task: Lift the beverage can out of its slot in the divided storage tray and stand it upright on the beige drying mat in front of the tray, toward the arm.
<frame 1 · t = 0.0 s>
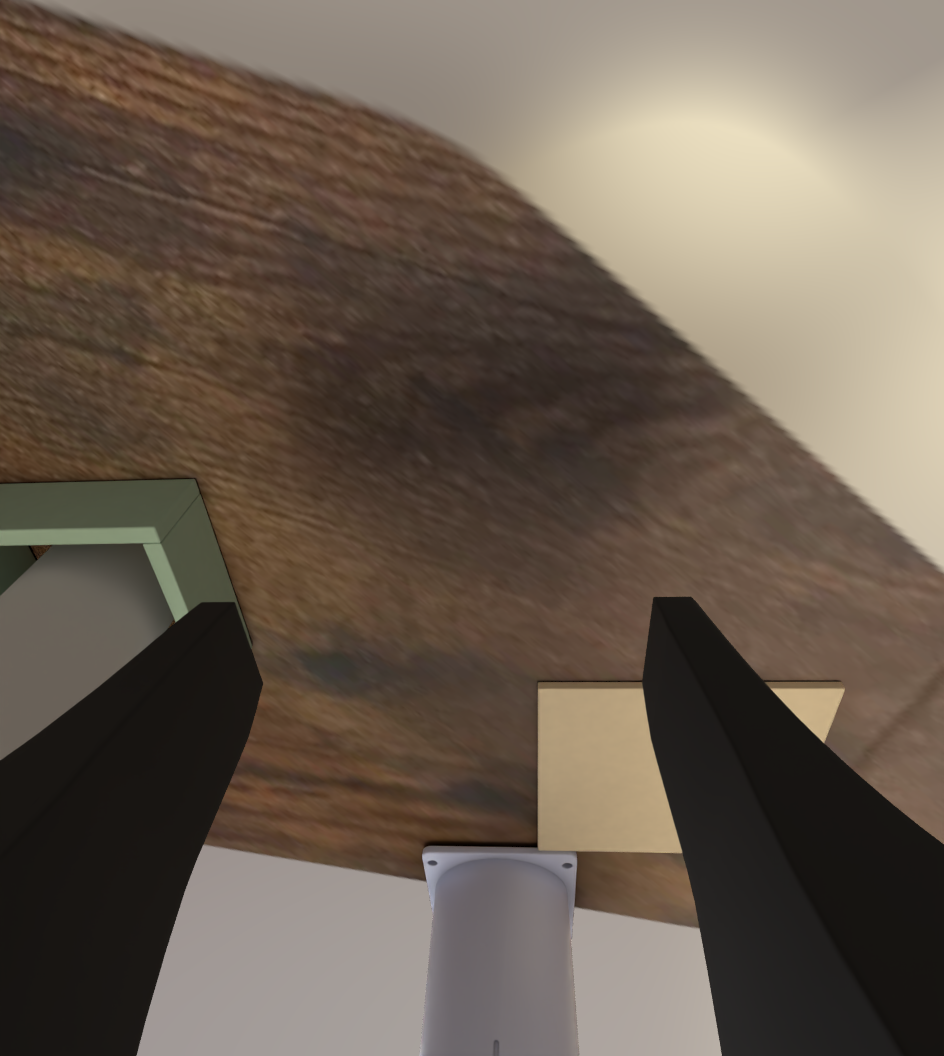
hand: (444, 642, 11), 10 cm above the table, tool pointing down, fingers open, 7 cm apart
drying mat: (669, 772, 29), on the table
divided storage tray: (36, 572, 24), on the table
beverage can: (129, 568, 24), resting in divided storage tray
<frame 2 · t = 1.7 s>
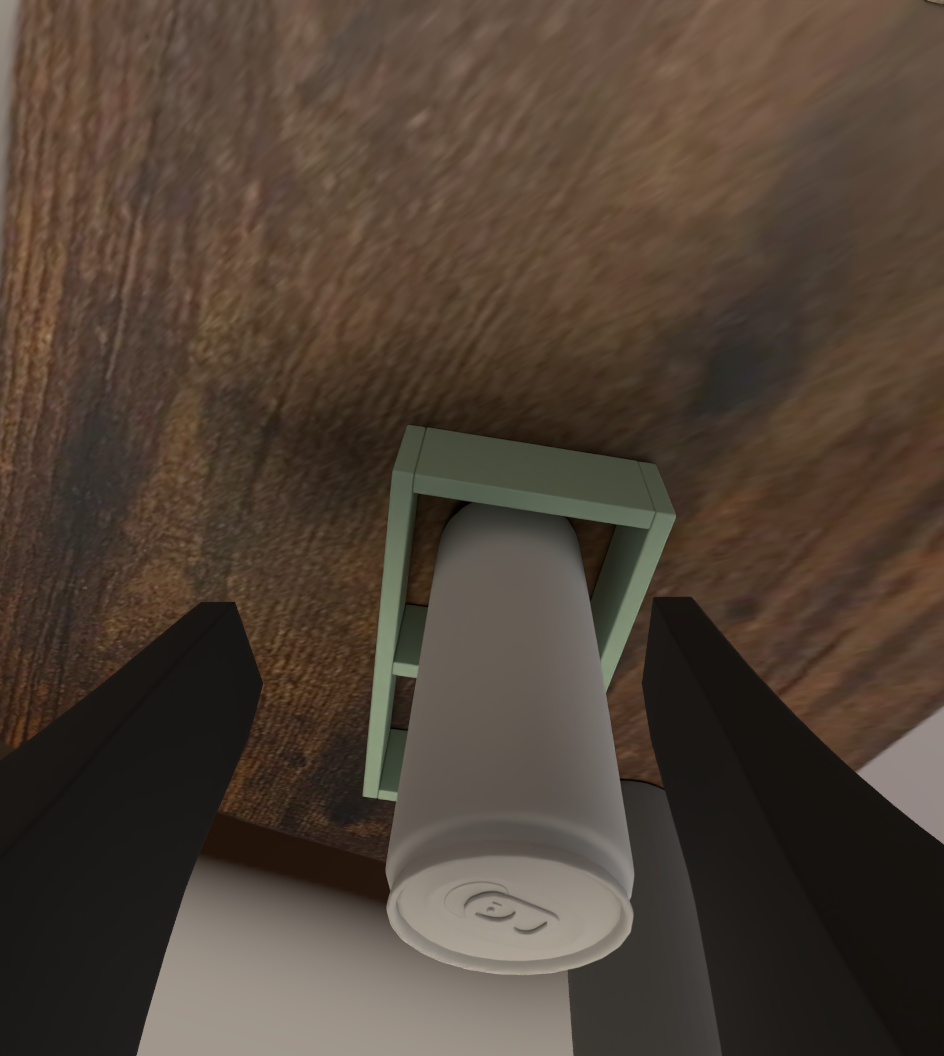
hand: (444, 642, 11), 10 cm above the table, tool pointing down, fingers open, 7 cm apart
divided storage tray: (492, 622, 24), on the table
beverage can: (509, 541, 22), resting in divided storage tray
bottle: (618, 812, 30), on the table
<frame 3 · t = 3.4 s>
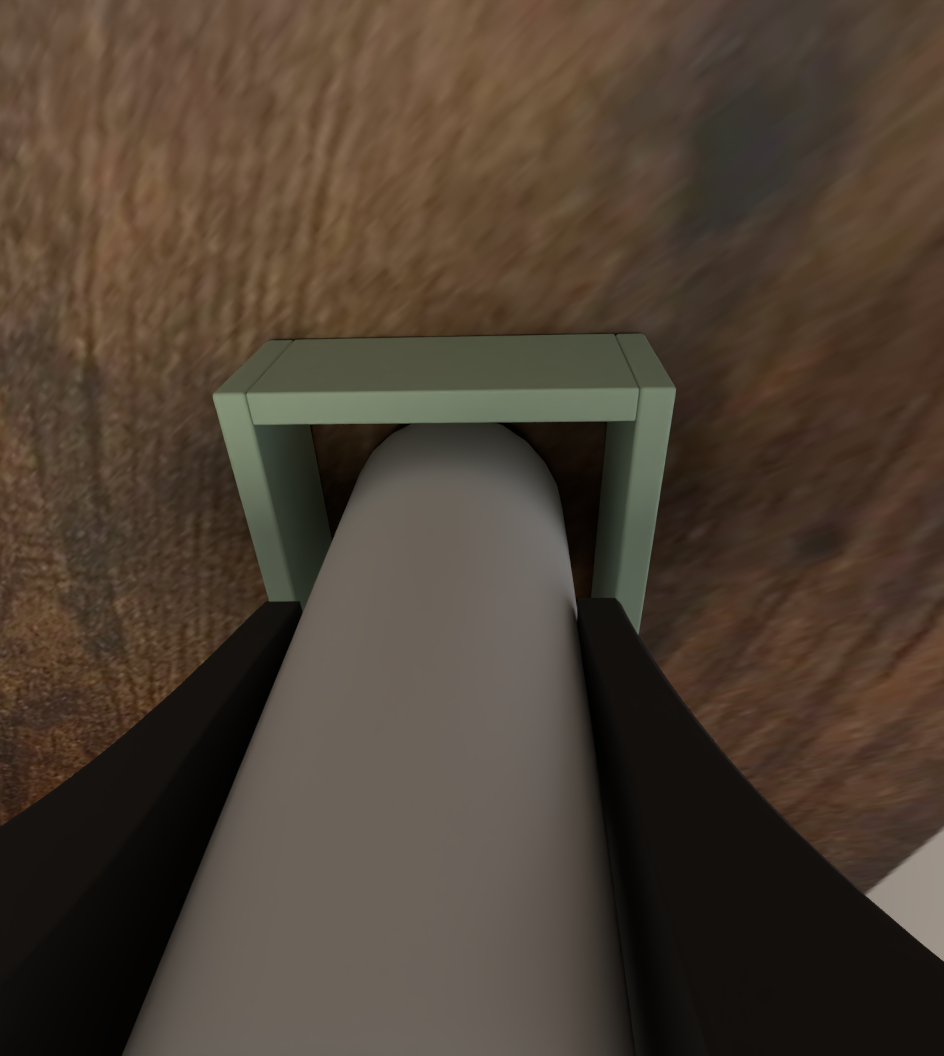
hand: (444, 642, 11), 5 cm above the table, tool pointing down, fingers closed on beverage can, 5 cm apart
divided storage tray: (466, 612, 17), on the table
beverage can: (460, 493, 15), resting in divided storage tray, touching gripper
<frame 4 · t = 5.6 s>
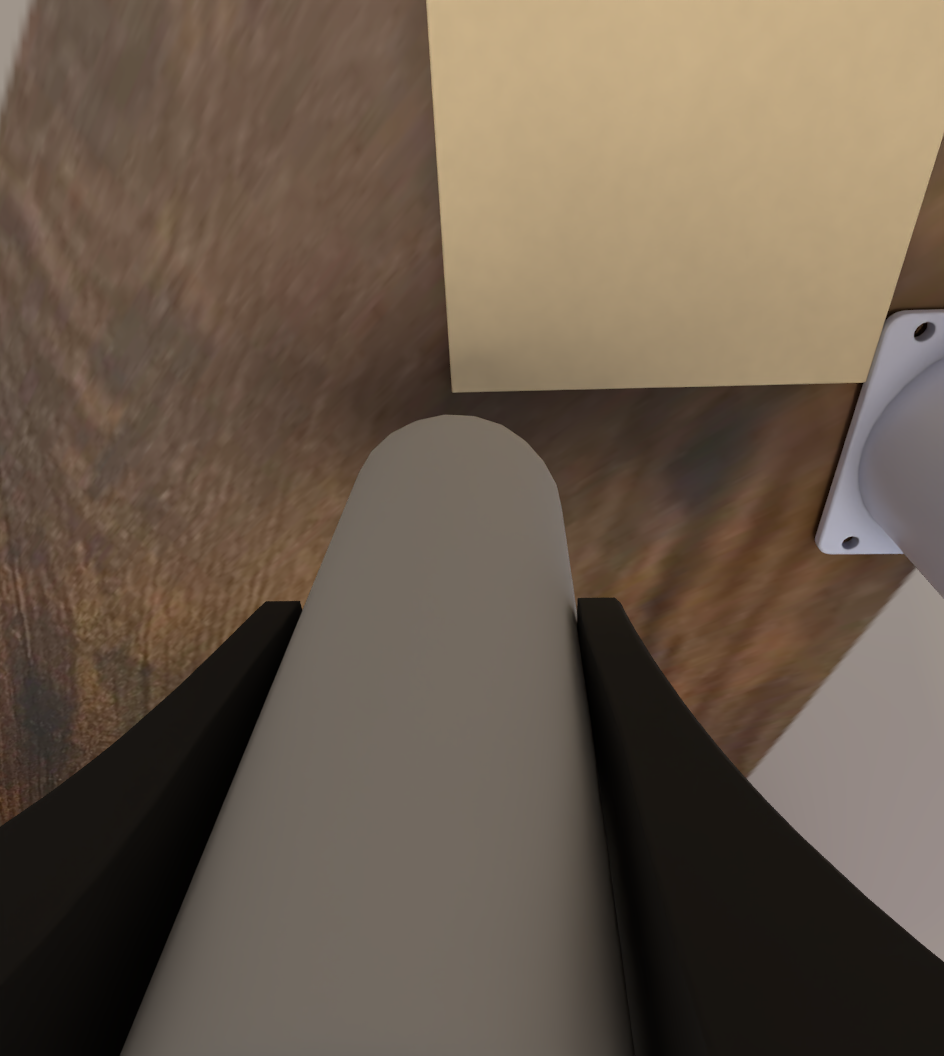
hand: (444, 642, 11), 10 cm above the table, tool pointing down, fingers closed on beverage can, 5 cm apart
drying mat: (679, 150, 16), on the table
beverage can: (460, 493, 15), point 5 cm above the table, touching gripper
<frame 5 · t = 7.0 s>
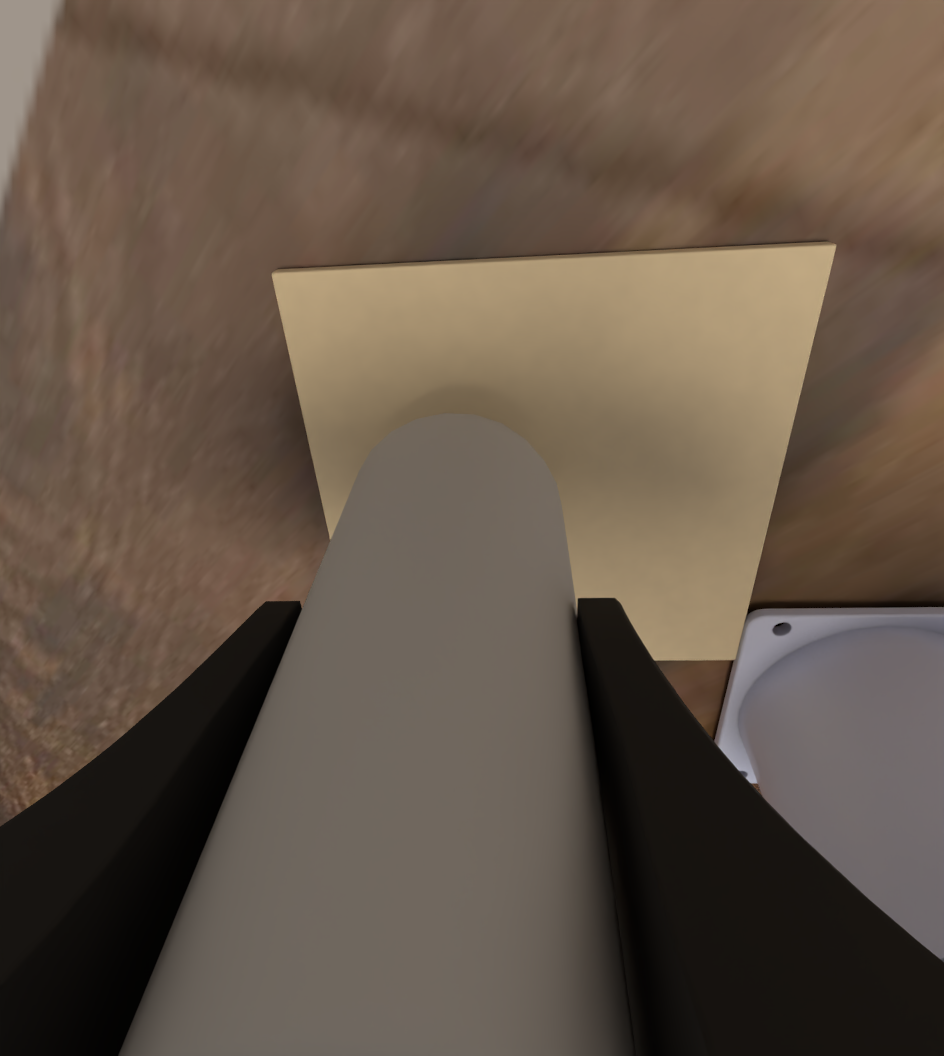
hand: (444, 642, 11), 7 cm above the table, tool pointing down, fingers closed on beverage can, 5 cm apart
drying mat: (542, 492, 17), on the table
beverage can: (460, 492, 15), point 2 cm above the table, touching gripper
when the fingers open (5 cm above the table, at t = 8.0 s): beverage can stays where it is, resting on drying mat.
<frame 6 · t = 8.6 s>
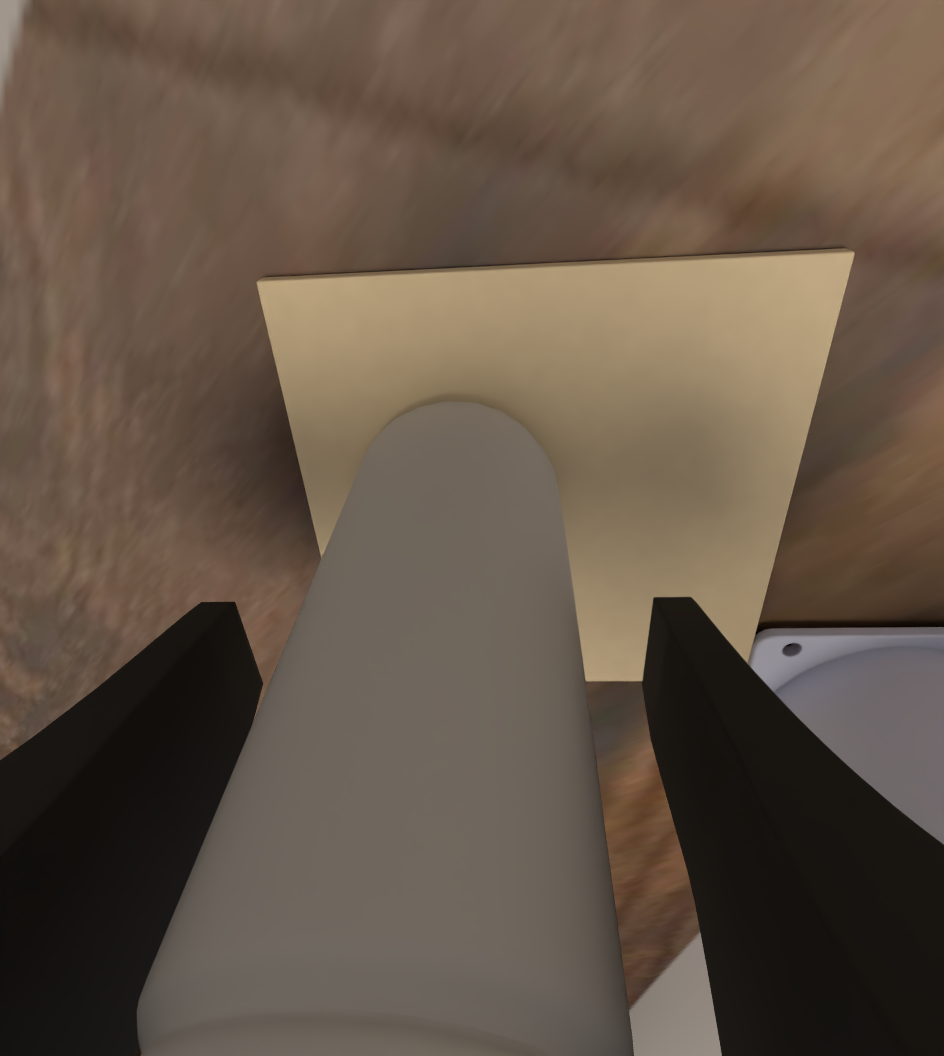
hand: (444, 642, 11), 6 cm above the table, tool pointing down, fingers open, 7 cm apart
drying mat: (542, 509, 16), on the table
beverage can: (461, 479, 16), resting on drying mat
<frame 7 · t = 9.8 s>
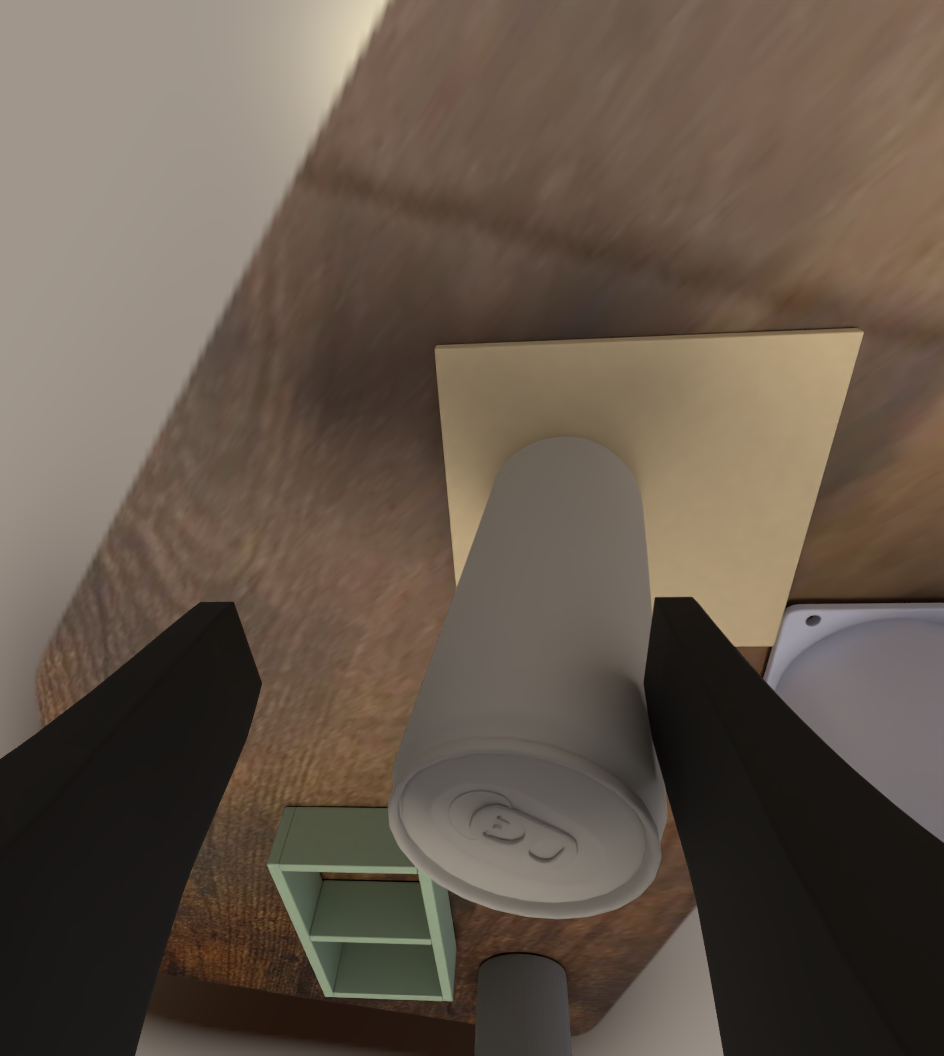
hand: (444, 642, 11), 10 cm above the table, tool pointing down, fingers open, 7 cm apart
drying mat: (625, 511, 22), on the table
divided storage tray: (379, 883, 36), on the table
beverage can: (567, 495, 21), point 1 cm above the table, touching drying mat, gripper
bottle: (521, 969, 42), on the table
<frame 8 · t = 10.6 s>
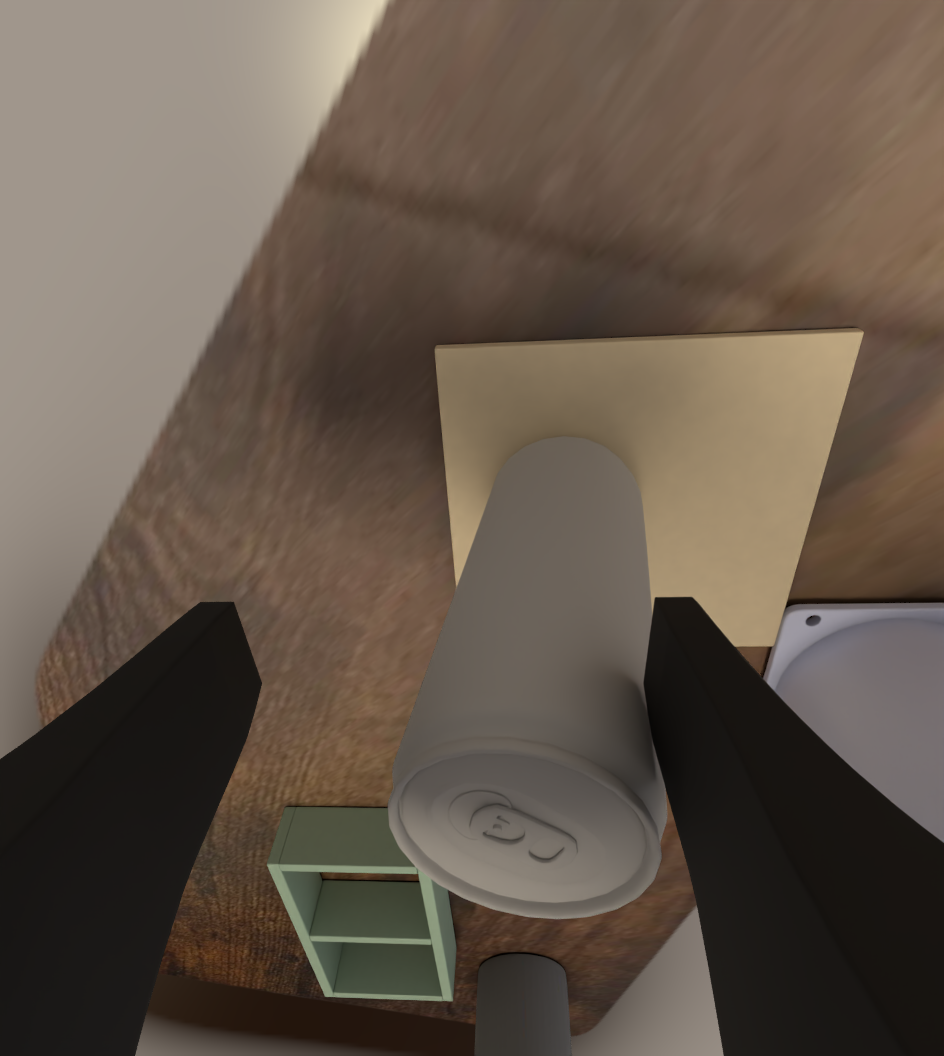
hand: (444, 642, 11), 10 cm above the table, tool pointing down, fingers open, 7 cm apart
drying mat: (625, 511, 22), on the table
divided storage tray: (379, 883, 36), on the table
beverage can: (567, 495, 21), point 1 cm above the table, touching drying mat, gripper
bottle: (521, 969, 42), on the table
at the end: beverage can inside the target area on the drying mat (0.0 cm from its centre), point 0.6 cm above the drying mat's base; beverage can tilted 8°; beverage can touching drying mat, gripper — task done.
